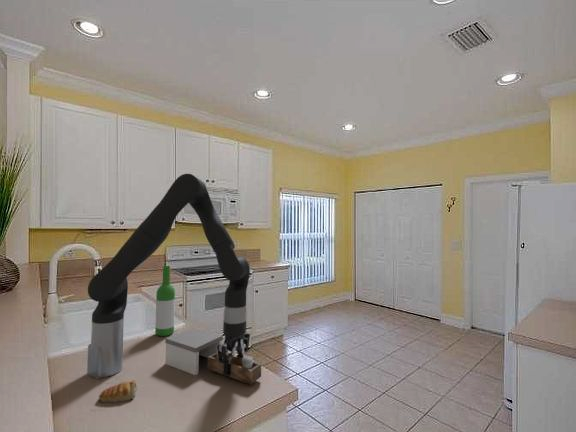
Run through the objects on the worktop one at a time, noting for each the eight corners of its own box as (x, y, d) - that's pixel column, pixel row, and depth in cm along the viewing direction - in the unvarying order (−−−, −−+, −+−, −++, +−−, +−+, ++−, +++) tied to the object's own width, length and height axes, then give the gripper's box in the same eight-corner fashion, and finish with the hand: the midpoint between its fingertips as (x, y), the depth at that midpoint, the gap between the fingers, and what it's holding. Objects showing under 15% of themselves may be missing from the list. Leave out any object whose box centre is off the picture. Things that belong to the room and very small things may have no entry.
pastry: (97, 408, 81) (97, 393, 82) (101, 394, 88) (101, 381, 88) (135, 400, 85) (136, 386, 85) (137, 388, 91) (137, 375, 92)
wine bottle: (169, 329, 140) (171, 264, 140) (176, 333, 134) (178, 266, 135) (152, 333, 134) (154, 266, 135) (159, 338, 129) (161, 268, 129)
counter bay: (194, 375, 99) (195, 348, 99) (164, 364, 106) (165, 338, 106) (222, 360, 110) (222, 335, 110) (193, 350, 118) (193, 327, 118)
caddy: (261, 376, 97) (261, 357, 97) (250, 384, 92) (251, 364, 92) (219, 362, 106) (219, 345, 106) (207, 368, 101) (207, 350, 101)
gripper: (229, 327, 91) (227, 383, 91) (257, 315, 104) (255, 364, 103) (210, 322, 95) (209, 376, 95) (240, 311, 107) (238, 359, 107)
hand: (233, 370), depth 99 cm, fingers closed on caddy, 5 cm apart
